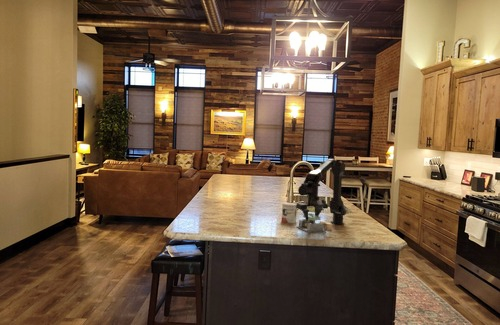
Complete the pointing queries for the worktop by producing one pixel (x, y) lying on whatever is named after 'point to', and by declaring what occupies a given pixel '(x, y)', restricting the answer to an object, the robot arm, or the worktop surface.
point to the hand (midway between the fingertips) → (311, 220)
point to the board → (312, 217)
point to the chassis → (311, 226)
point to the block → (327, 225)
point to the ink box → (289, 212)
